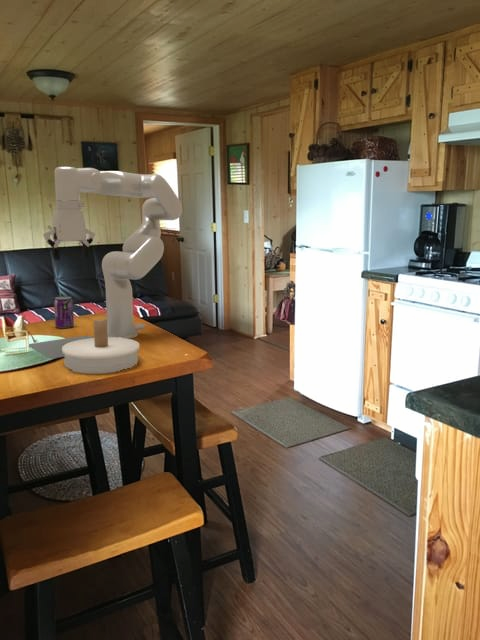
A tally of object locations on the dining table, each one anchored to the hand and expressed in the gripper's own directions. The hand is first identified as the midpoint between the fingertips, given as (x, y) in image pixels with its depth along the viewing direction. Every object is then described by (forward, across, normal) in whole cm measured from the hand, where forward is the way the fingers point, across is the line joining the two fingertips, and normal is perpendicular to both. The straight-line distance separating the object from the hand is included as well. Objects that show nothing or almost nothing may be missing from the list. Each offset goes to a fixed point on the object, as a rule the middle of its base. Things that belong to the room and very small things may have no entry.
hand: (71, 259), depth 181 cm
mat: (+30, +1, -1) cm, 30 cm away
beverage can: (+31, -11, -34) cm, 47 cm away
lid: (+26, +2, +23) cm, 35 cm away
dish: (+31, +2, +23) cm, 39 cm away
